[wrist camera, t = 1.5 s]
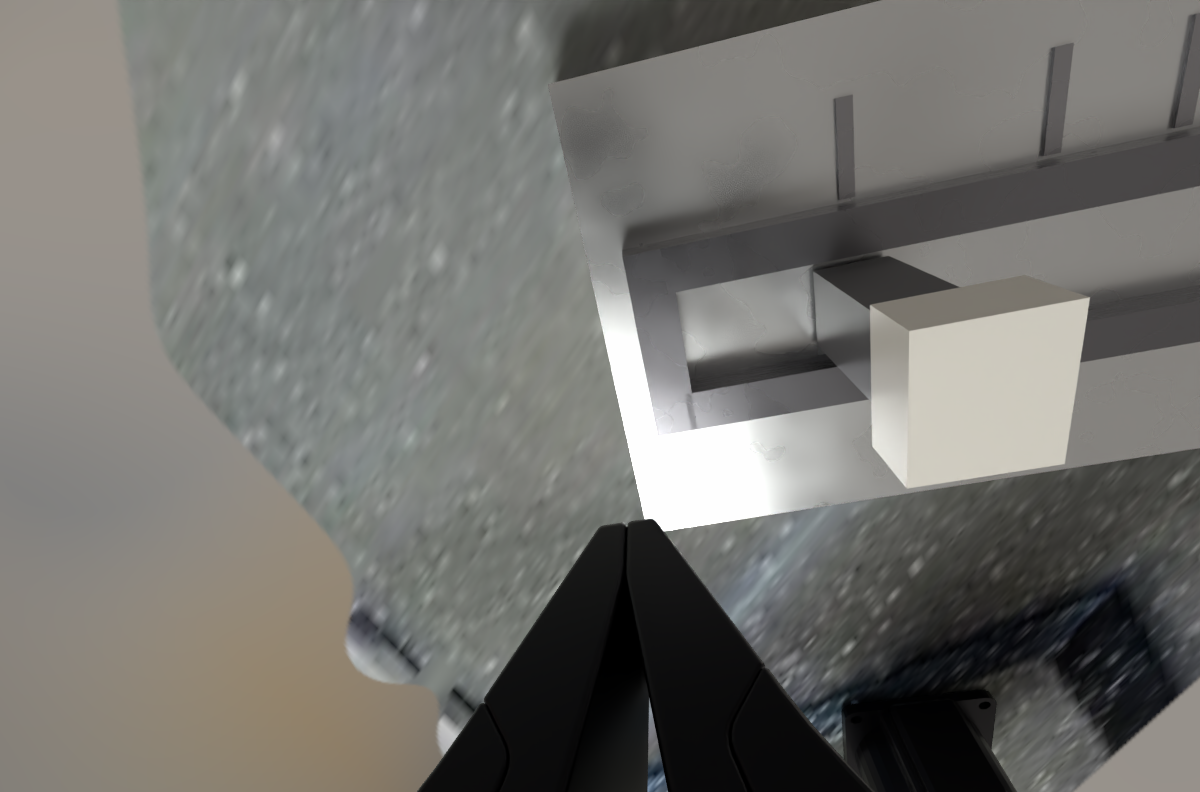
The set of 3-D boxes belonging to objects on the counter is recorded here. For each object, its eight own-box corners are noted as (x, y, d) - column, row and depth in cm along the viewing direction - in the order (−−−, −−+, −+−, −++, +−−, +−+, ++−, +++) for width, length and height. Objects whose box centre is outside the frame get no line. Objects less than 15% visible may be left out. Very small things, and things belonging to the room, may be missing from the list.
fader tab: (903, 345, 16) (1064, 463, 10) (804, 363, 16) (907, 489, 11) (904, 233, 15) (1089, 297, 9) (796, 255, 15) (909, 331, 9)
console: (1359, 384, 19) (1487, 426, 16) (645, 499, 21) (649, 553, 19) (1567, -163, 13) (1822, -243, 10) (555, 90, 16) (542, 80, 13)
